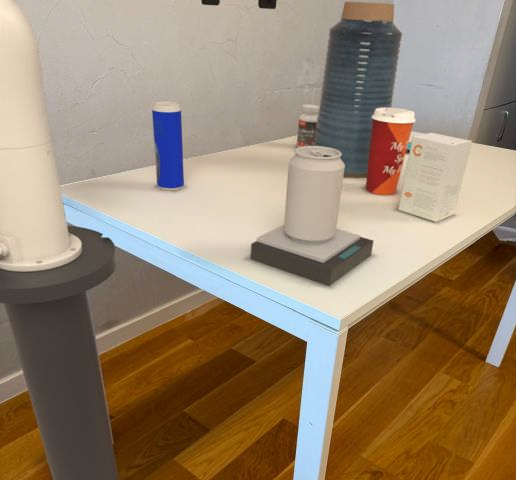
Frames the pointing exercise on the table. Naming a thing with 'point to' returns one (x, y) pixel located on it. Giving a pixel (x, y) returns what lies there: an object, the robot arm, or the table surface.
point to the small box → (434, 175)
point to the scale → (312, 254)
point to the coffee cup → (388, 148)
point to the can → (313, 194)
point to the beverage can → (168, 145)
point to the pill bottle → (307, 125)
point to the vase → (357, 81)
